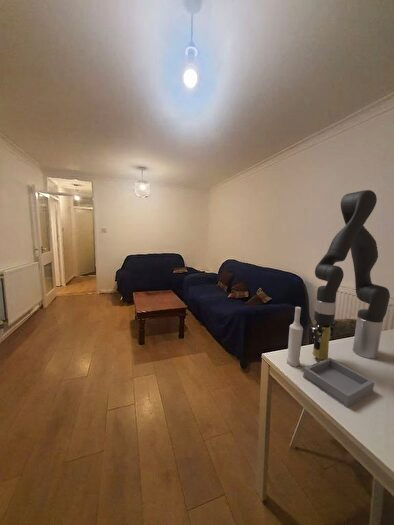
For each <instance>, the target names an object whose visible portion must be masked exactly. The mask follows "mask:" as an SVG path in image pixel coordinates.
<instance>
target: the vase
mask: <svg viewBox="0 0 394 525" xmlns="http://www.w3.org/2000/svg"><path fill="white" fill-rule="evenodd" d="M324 329H325V331H324V335H323V337H322V338H321V341H320V349H319V350H317V349H315V348H314V346H313V349H312V350H313V351H312V356H314V357H315V358H317V359H319V360H325V359H328V358H329V347H330V346H329V345H330V343H329V342H330V339H329V334H330V331H331V330H330V327H328V328H325V327H322V330H324ZM318 334H320V335H321V333H319V332H318ZM318 338H319V336H318Z"/></svg>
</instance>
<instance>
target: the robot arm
mask: <svg viewBox="0 0 394 525" xmlns="http://www.w3.org/2000/svg"><path fill="white" fill-rule="evenodd" d="M377 198H378V197H377V194H376V193H375V191H374V190H371V189H366V190H365V189H364V190H360V191H355V192H349V193H346V194H344V195H343V196H342V198H341V200H340V211H341V214H342V215H341V216H342V218H343V221H344V224H345V225H344V226H343V227H342V229H340V230H339V231H338V232H337V234H335V236H334V237H333V239H332V240H331V243H330V244H329V247H328V249H327V252H326V253H325V254H324V255H323V257H322V258H321V260H319V261H318V263H317V264H316V266H315V268H314V275H315V277H316V278H317V279H318V280H321V281H325V282H327V283H326V285H320V286H318V287H317V291H316V301H315V304H314V312H313V313H314V315H313V319H314V321H315V322H316V323H315V326H310V340H312V341H313V347H314V348H315V349H317V350H319V349H320V341H321V338H322V337H323V335H324V331H325V329H324V330H322V327H325V328H328V327H330V334H329V340H330V339H331V337H333V336H334V333H335V329H336V322H335V319H336V318H335V316H336V308H337V306H336V301H337V293H338V290H339V288H340V286H341V283H342V281H343V279H344V275H345V274H344V270H343V269H342V267H340V266H339V265H335V264H336V263H339V262H340V263H341V262H344V261H345V260H346V258H347V256H348V255H349V254H348V253H349V251H350V254H351V259H352V263H353V264H352V265H353V272H354V283H355V295H356V298H357V299H358V300H359V301H361V302H363V303H365V304H369V305H368V308H367V309H363V308H362V309H359V310H358V311H357V316H356V324H355V329H354V330H355V331H354V338H353V343H352V345H353V346H352V351H353V353H355V354H356V355H358V356H360V357H363V358H366V359H376V358H378V355H379V354H378V353H379V349H380V348H379V347H380V341H381V334H382V330H383V322H384V318H385V317H386V315H387V311H388V307H389V302H390V298H391V294H390V291H389V289H388V287H385V286H382V285H380V284H379V285H378V284H375V283H372V278H371V271H372V269H373V268H374V266H375V265H376V263H377V261H378V258H379V251H378V244H377V241H376V239H375V238H374V236H373V235H372V234H371V233H370V232H369V230H368V229H367V228H366V227H365V226H364V225H365V224H366V222H367V220H368V219H369V217H370V216H371V214H372V213H373V211H374V209H375V207H376V206H377V200H378V199H377ZM318 332H319V333H321V335H320V334H318ZM318 336H319V338H318Z"/></svg>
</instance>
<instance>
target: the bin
mask: <svg viewBox="0 0 394 525" xmlns="http://www.w3.org/2000/svg"><path fill="white" fill-rule="evenodd" d="M302 377H303V378H304V379H305V380H306V381H308V382H309V383H310V384H312V385H314V386H315V387H316V388H318V390H320V391H322V392H324V393H325V394H326V395H328V396H330V398H332V399H334V400H335V401H337V402H338V403H340V404H341V405H342V406H344V407H345V408H348V407H350V406H352V405H354V404H355V403H357V402H358V401H360V400H362V399H363V398H365V397H367V396H368V395H370V394H372V393H373V392H374V388H375V387H374V386H375V381H373V380H372V379H370V378H368V377H367V376H364V375H363V374H360V373H358V372H357V371H355V370H354V369H352V368H349V367H347V365H344V364H342V363H340V362H338V361H336V360H335V359H332V358H331V357H328V359H322V360H321V361H318V362H315V363H313V364H311V365H308V366H306V367H304V368H303V375H302Z"/></svg>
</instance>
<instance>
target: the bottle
mask: <svg viewBox="0 0 394 525" xmlns="http://www.w3.org/2000/svg"><path fill="white" fill-rule="evenodd" d="M294 308H295V310H294V311H295V312H294V320H293V323H292V324H290V325H289V330H288V331H289V332H288V345H287V357H286V363H287V364H288V365H289V366H291V367H295V368H297V367H299V366H300V361H301V360H300V356H301V348H302V342H303V341H302V340H303V334H304V333H303V332H304V328H303V326H302V325H301V323H300V322H301V321H300V319H301V312H302V307H300V306H295V307H294Z"/></svg>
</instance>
